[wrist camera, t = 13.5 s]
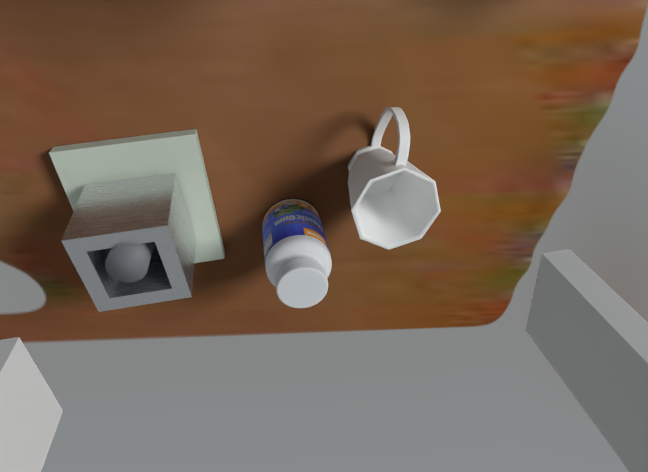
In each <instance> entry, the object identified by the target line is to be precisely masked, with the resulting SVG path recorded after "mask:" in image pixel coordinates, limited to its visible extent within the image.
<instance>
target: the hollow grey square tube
mask: <svg viewBox="0 0 648 472" xmlns="http://www.w3.org/2000/svg"><path fill="white" fill-rule="evenodd" d="M61 242H62V244H63V245H64V247H65V249H66V251H67V253H68V255H69V257H70V259H71V260H72V262H73V264H74V266H75V268H76V270H77V272H78V274H79V276H80V277H81V279H82V281H83V283H84V285H85V287H86V289H87V291H88V292H89V294H90V296H91V298H92V300H93V302H94V304H95V306H96V307H97V309H98V311H99V312H101V311H107V310H113V309H120V308H126V307H132V306H138V305H145V304H151V303H157V302H164V301H170V300H176V299H183V298H189V297H192V289H193V276H194V262H195V249H196V239H195V235H194V232H193V229H192V225H191V222H190V219H189V215H188V212H187V209H186V205H185V202H184V199H183V195H182V192H181V189H180V185H179V182H178V178H177V175H176V173H170V174H163V175H155V176H148V177H141V178H133V179H126V180H118V181H111V182H104V183H96V184H89V185H85V186H84V188H83V191H82V193H81V195H80V198H79V200H78V202H77V205H76V207H75V209H74V212H73V214H72V216H71V219H70V221H69V223H68V226H67V228H66V230H65V233H64V235H63V238H62V240H61ZM149 242H155V244H154V248H153V252H152V255H151V259H150V263H149V267H148V271H147V273H146V275H145V276H144V277H143V278H142V279H140V280H138V281H136V282H121V281H118V280H116V279H114V278H113V277H111V276H110V275H109V274H108V272H107V270H106V268H105V261H106V259H107V256H108V254H109V251H110V249H111V248H115V247H122V246H128V245H135V244H142V243H149Z"/></svg>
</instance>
